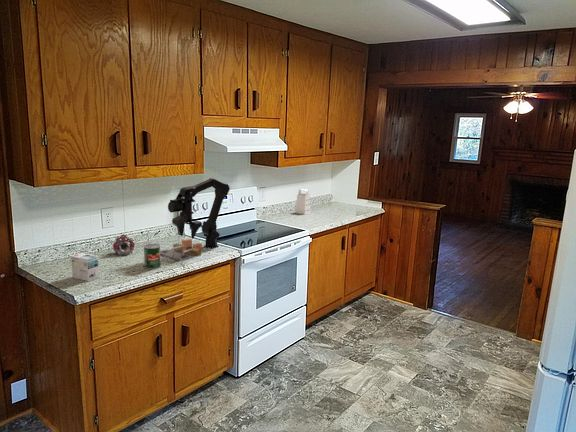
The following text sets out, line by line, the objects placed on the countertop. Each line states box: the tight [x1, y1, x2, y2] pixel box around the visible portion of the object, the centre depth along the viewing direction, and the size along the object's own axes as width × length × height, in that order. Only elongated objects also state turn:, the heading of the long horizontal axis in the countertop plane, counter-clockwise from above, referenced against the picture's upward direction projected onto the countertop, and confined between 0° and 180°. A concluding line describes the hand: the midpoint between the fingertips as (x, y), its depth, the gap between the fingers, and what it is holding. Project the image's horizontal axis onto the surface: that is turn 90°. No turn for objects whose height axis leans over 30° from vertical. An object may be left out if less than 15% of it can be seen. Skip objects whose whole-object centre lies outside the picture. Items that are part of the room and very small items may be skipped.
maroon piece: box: [112, 233, 135, 257], centre depth 244 cm, size 11×11×12 cm
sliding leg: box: [171, 238, 193, 254], centre depth 247 cm, size 13×3×7 cm, turn 145°
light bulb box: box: [70, 252, 101, 282], centre depth 204 cm, size 11×7×11 cm, turn 66°
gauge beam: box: [172, 242, 203, 257], centre depth 247 cm, size 13×20×6 cm, turn 55°
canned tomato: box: [143, 243, 162, 270], centre depth 223 cm, size 8×8×11 cm
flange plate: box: [160, 248, 192, 262], centre depth 242 cm, size 8×20×1 cm, turn 55°
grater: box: [294, 188, 312, 215], centre depth 373 cm, size 10×10×20 cm
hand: (187, 237), depth 249 cm, fingers open, 9 cm apart
